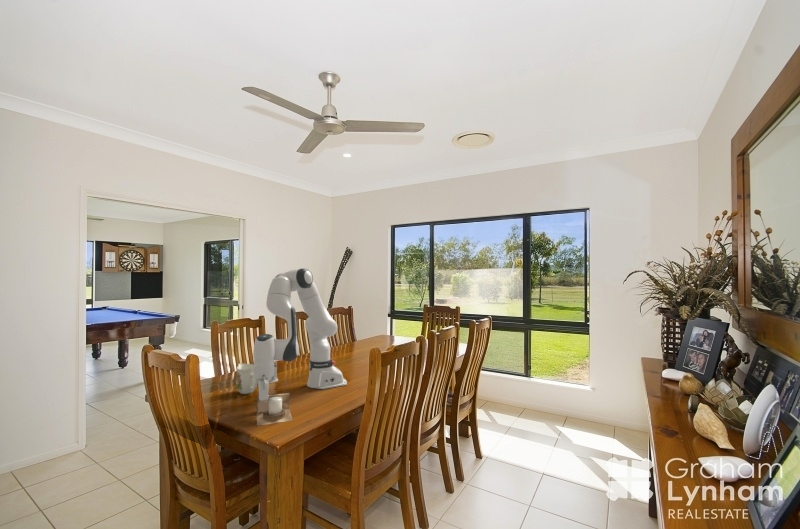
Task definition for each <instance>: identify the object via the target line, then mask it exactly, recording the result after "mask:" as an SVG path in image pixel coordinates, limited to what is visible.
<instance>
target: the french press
mask: <svg viewBox="0 0 800 529" xmlns="http://www.w3.org/2000/svg"><path fill="white" fill-rule="evenodd" d="M277 373H278V365H277V362H275V361H274V376H273V377H271V380H270V381H268V383H269V384H271V383H276V382H278V381H279V378H278V375H277Z"/></svg>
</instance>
